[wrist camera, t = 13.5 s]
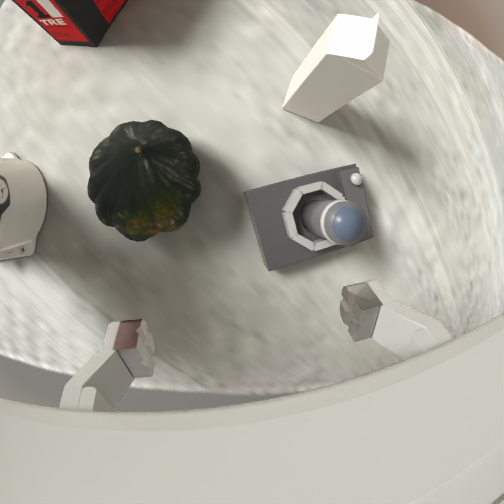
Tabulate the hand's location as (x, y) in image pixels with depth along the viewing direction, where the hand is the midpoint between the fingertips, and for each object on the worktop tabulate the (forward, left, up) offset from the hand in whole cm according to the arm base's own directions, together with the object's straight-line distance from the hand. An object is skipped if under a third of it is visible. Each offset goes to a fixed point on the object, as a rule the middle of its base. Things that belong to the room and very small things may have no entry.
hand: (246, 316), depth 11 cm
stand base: (+12, -1, -30) cm, 33 cm away
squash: (-8, +10, -31) cm, 33 cm away
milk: (+17, +16, -31) cm, 38 cm away
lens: (+12, -1, -26) cm, 29 cm away
